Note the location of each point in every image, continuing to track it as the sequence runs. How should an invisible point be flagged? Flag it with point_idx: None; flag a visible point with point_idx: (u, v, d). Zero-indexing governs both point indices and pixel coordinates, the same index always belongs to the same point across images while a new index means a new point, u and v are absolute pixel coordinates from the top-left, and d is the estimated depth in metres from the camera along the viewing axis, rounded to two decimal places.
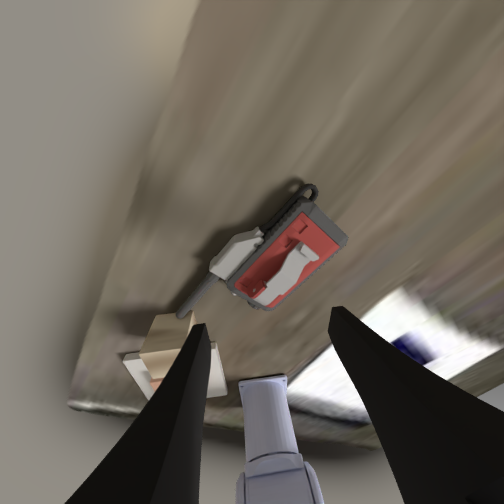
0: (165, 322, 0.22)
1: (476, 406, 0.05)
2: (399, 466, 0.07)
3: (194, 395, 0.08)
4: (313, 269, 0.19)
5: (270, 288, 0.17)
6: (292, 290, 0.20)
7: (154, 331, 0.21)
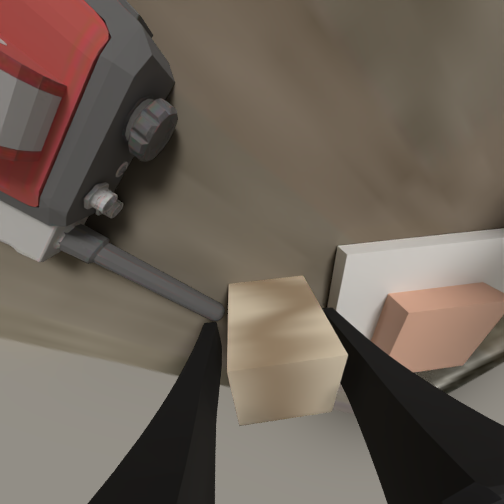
0: None
1: (456, 409, 0.05)
2: (383, 469, 0.07)
3: (209, 393, 0.08)
4: None
5: None
6: None
7: None
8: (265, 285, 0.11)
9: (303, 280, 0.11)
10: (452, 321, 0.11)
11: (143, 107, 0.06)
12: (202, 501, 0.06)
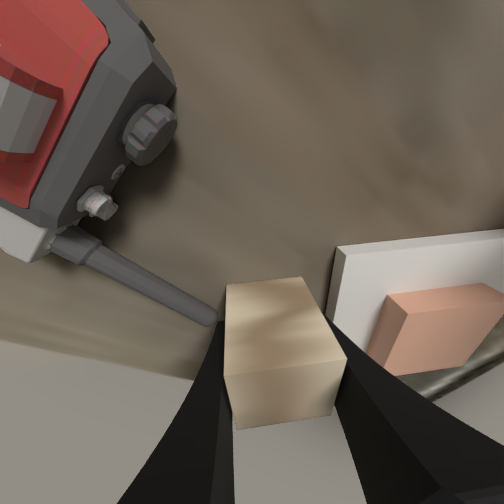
0: None
1: (432, 413, 0.05)
2: (364, 472, 0.07)
3: None
4: None
5: None
6: None
7: None
8: (263, 286, 0.11)
9: (302, 282, 0.11)
10: (452, 322, 0.10)
11: (142, 112, 0.05)
12: (226, 497, 0.06)
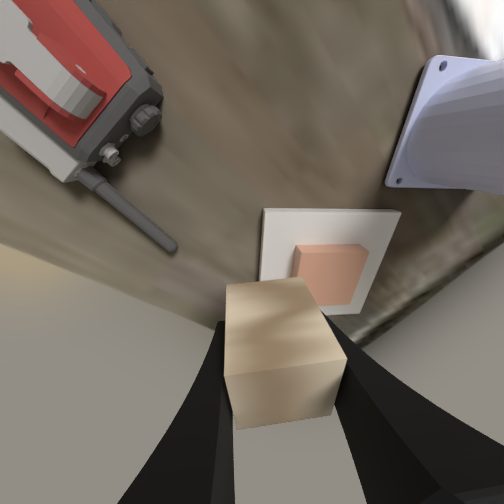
0: None
1: (432, 413, 0.05)
2: (364, 472, 0.07)
3: (227, 390, 0.08)
4: None
5: (12, 53, 0.08)
6: None
7: None
8: (263, 286, 0.11)
9: (302, 282, 0.11)
10: (332, 264, 0.16)
11: (142, 108, 0.11)
12: (227, 497, 0.06)
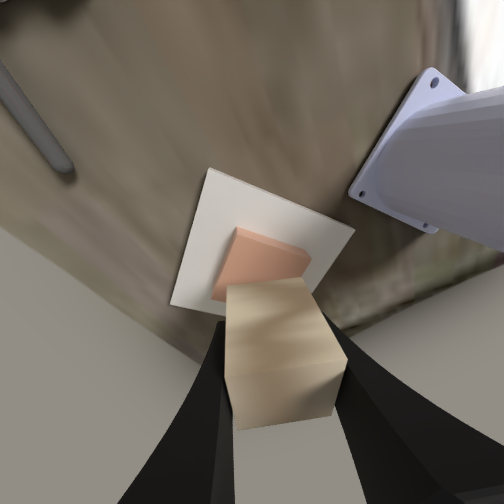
0: None
1: (432, 413, 0.05)
2: (364, 472, 0.07)
3: (227, 390, 0.08)
4: None
5: None
6: None
7: None
8: (263, 287, 0.11)
9: (302, 282, 0.11)
10: (269, 260, 0.14)
11: None
12: (227, 497, 0.06)
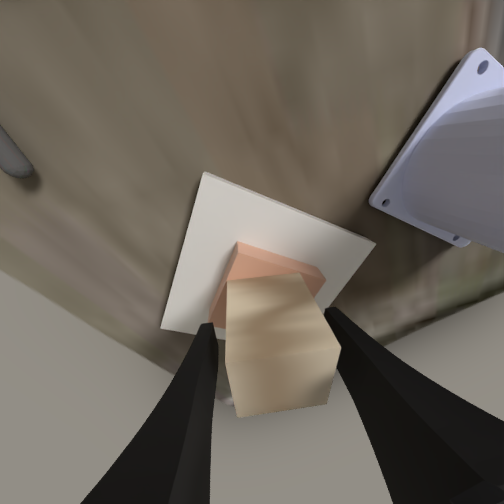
0: None
1: (463, 408, 0.05)
2: (388, 468, 0.07)
3: (205, 393, 0.08)
4: None
5: None
6: None
7: None
8: (263, 281, 0.11)
9: (299, 278, 0.11)
10: None
11: None
12: (196, 502, 0.06)
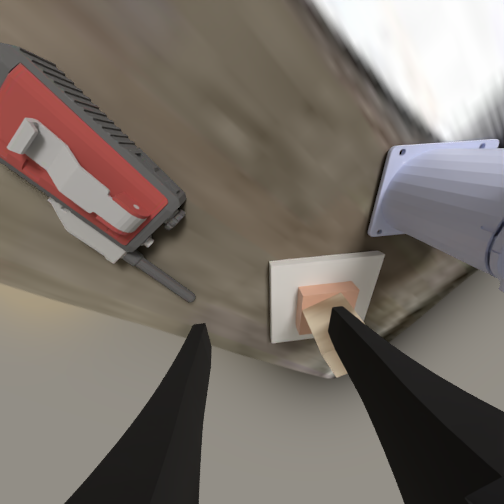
0: None
1: (476, 406, 0.05)
2: (399, 466, 0.07)
3: (194, 395, 0.08)
4: (81, 123, 0.11)
5: (96, 208, 0.12)
6: (130, 165, 0.12)
7: None
8: (322, 305, 0.20)
9: (342, 296, 0.19)
10: None
11: (173, 215, 0.15)
12: None
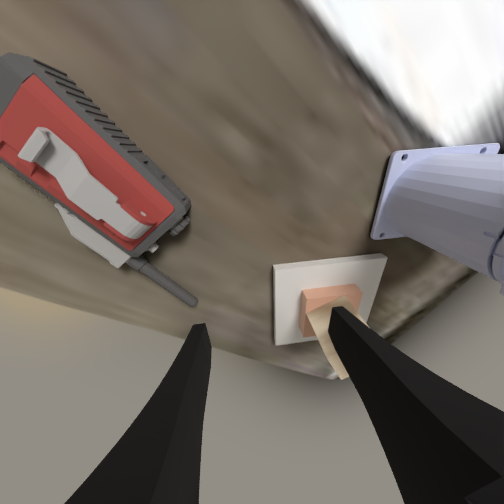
0: None
1: (476, 406, 0.05)
2: (399, 466, 0.07)
3: (194, 395, 0.08)
4: (91, 132, 0.11)
5: (104, 215, 0.12)
6: (139, 173, 0.13)
7: None
8: (325, 308, 0.20)
9: (345, 299, 0.19)
10: None
11: (178, 222, 0.15)
12: None
